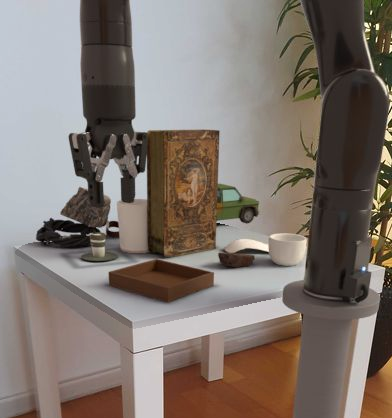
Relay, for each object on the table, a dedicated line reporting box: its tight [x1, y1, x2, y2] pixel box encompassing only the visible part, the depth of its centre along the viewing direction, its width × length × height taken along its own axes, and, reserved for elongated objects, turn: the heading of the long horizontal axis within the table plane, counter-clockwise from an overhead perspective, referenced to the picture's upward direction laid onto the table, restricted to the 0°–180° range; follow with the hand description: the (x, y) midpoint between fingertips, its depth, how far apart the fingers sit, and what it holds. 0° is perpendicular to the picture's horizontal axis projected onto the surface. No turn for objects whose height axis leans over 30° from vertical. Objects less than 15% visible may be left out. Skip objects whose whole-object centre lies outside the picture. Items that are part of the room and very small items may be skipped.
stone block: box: [59, 186, 112, 229], centre depth 131 cm, size 14×9×8 cm, turn 176°
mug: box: [116, 198, 150, 254], centre depth 123 cm, size 11×9×10 cm
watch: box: [105, 220, 120, 239], centre depth 136 cm, size 8×5×4 cm, turn 4°
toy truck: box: [217, 183, 260, 224], centre depth 151 cm, size 11×21×10 cm, turn 120°
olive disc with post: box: [80, 232, 119, 262], centre depth 116 cm, size 12×12×5 cm
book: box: [146, 129, 221, 258], centre depth 119 cm, size 16×6×25 cm, turn 132°
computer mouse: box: [223, 238, 269, 254], centre depth 125 cm, size 9×12×3 cm
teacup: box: [267, 232, 308, 267], centre depth 115 cm, size 10×8×5 cm
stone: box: [217, 252, 256, 268], centre depth 113 cm, size 7×7×3 cm
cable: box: [35, 217, 102, 248], centre depth 130 cm, size 17×14×4 cm
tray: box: [108, 258, 215, 303], centre depth 99 cm, size 14×12×2 cm
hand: (113, 204), depth 85 cm, fingers open, 5 cm apart
